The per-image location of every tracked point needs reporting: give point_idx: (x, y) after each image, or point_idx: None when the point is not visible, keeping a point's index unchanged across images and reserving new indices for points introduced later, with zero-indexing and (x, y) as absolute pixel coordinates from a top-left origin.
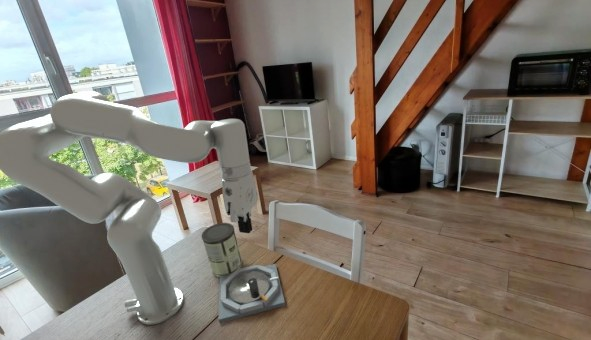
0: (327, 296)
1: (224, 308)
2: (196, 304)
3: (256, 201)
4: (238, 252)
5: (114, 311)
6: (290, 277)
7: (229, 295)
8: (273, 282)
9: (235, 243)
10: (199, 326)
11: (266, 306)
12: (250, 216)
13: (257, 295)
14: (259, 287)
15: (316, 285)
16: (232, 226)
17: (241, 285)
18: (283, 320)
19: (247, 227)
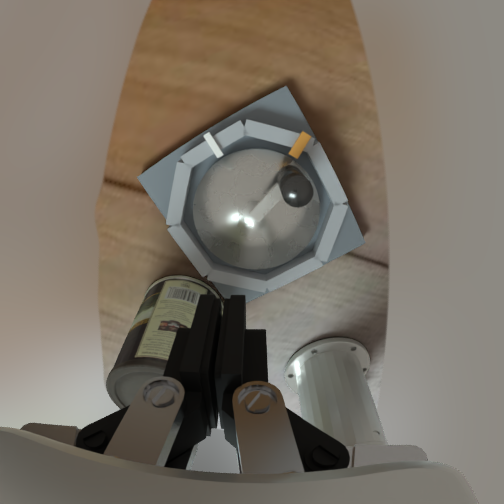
0: None
1: (333, 245)
2: (316, 314)
3: (14, 446)
4: (155, 303)
5: None
6: (173, 109)
7: None
8: (229, 140)
9: (151, 329)
10: (371, 275)
11: (311, 133)
12: (162, 378)
13: (297, 168)
14: (257, 178)
15: (190, 25)
16: (114, 374)
17: (261, 236)
18: (333, 79)
19: (244, 334)
